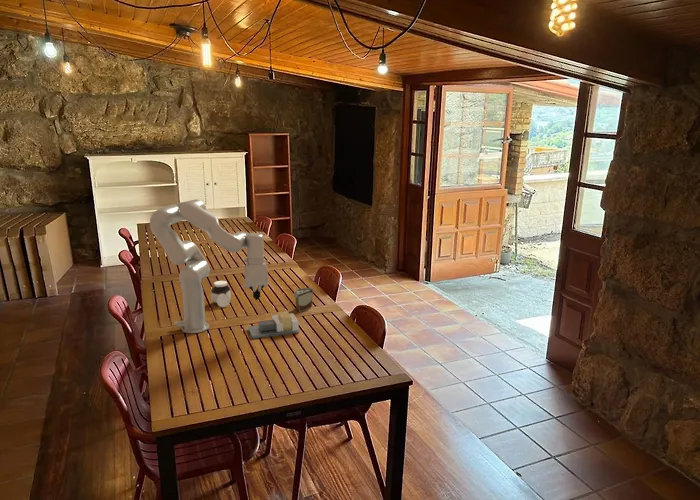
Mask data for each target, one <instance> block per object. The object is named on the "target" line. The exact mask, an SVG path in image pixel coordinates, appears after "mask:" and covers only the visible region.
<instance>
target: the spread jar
mask: <svg viewBox="0 0 700 500" xmlns="http://www.w3.org/2000/svg"><path fill="white" fill-rule="evenodd" d="M213 285H214V286H213V287H212V288H211V291H210V292H211V293H210V294H211V296H210V298H211V302H212V303H213V304H215V305H217V306H218V307H220V308H226V307H228V306H229V305H230V302H231V297H232V294H231V293H232V291H231V287H230V286H229V285H228V282H227V281H226V280H217V281H215V282H214V283H213Z"/></svg>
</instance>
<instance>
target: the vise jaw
mask: <svg viewBox="0 0 700 500" xmlns="http://www.w3.org/2000/svg"><path fill="white" fill-rule="evenodd" d="M257 324H258V325H259V329H260V331H268V330H276V331H277V332H281V331H283V322H282V321H281V319H280V317H279V314H274V315H271V319H267V320H261V321H258V323H257Z"/></svg>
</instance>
